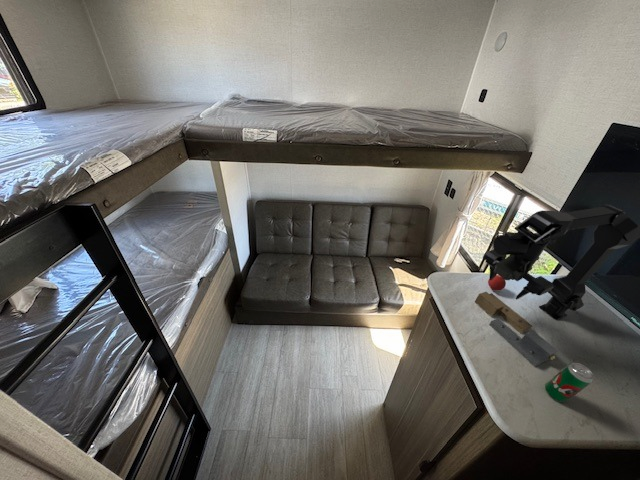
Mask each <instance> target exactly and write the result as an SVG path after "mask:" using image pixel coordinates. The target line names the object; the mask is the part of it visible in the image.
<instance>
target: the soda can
mask: <svg viewBox="0 0 640 480" xmlns="http://www.w3.org/2000/svg"><path fill="white" fill-rule="evenodd" d="M594 378H595V377H594V374H593V372H592V371H591V370H590V369H589V368H588V367H586V366H585V365H584V364H582V363H579V362H573V363H568V364H567V365H566V366H565V367H563V368H562V369H561V370H559V372H558V373H557V374H556V375H554V376H553V377H552V378H551V379H550V380H548V381H547V382H546V383H545V385H544V389H545V391H546V393H547V395H549V397H551V398H552V399H553V400H555V401H557V402H560V403H566V402H567V401H569V400H570V399H572V398H573V397H575V396H576V395H577V394H578V393H580V392H581V391H582V390H584V389H586V387H589V386H590V384H592V383H593V381H594Z"/></svg>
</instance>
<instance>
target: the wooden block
mask: <svg viewBox="0 0 640 480" xmlns="http://www.w3.org/2000/svg"><path fill="white" fill-rule="evenodd" d="M474 303H476V305H477V306H479V307H480V308H481V309H482V310H483V311H484V312H485V313H487V315H489V316H490V317H492V318H493V317H496V316H498V315H499V316H500V317H501V318H502V319H503V320H504V321H506V322H507V323H508V324H510V325H511V326H512V327H513V328H514V329H515V330H516V331H517V332H519V333H520V334H523V333H525V332H526V333H527V331H530V330H531V329H532V328H533V325H532V324H531V323H530V322H528V321H527V320H526V319H525V318H523V316H521V315H520V314H518V313H517V312H516V311H515V310H514V309H512V308H511V307H509V305H507V304H506V303H505V302H503V301H502V300H501V299H499V298H498V297H497V296H496V295H494V293H492V292H491V293H489V292H487V291H484V292H480V293H478V295H477V297H476V298H475V300H474Z"/></svg>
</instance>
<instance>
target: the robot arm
mask: <svg viewBox="0 0 640 480" xmlns="http://www.w3.org/2000/svg"><path fill="white" fill-rule="evenodd" d="M589 227H596V228H595V229H594V231H593V243H592V244H591V245H590V247H589V248H588V249H587V250H586V252H585V253H583V255H582V256H581V258H579V260H578V261H577V262H576V264H575V265H574V266H573V267H572V269H571V270H570V271H569V272H568V274H566V276H565V275H564V276H562V277H559V278H557V277H556V278H554V279H553V281H550V280H548V279H547V278H545V277H543V275H540V276H537V277H535V276H533V275H531V274H530V273H529V272H530V271H532V269H533V266H534V265H535V263H536V262H537V261H539V260H540V258H541V257H540V256H541V254H542V253H543V252H544V250H545V249H546V247H547V246H548V245H549V244H551V243H556V242H557V240H556V238H557V237H562V236H564V235H565V234H566V233H567V232H568V231H571V230H577V229H584V228H589ZM529 228H530V229H531V230H530V229H529ZM514 230H515V232H512V231H506V232H505V233H504V234H500V235H498V236H496V237H495V238H494V240H493V243H492V245H493V246H492V247H493V249H492V250H488V251H486V252H484V254H483V256H482V258H483V260H485V263H486V264H487V265H488V266H489V278H490V279H489V278H488V280H490V281H491V280H493V279H494V277H495V276H496V275H499V276H501V277H502V278H503V279H505V281H510V280H512V281H513V280H514V281H516V282H519V281H521V280H522V279H524V280H525V281H527V283H526V285H525V286H523V287H522V290H520V292H519V293H518V294H517V295H516V296H515V300H519V299H521V298H523V297H525V296H526V295H527V294H529V293H530V294H531V295H537V296H542V295H545V294H547V293H548V294H550V295H551V297H550V298H549V300H547V302H546V303H544V304H542V305H539V307H538V308H539V309H540V310H542V311H543V312H544V313H546V314H547V315H549V316H550V317H551V318H552V319H554V320H556V321H558V320H561V319H563V318H566V317H567V316H568V314H567V312H568V311H570V310H571V311H572V312H576V311H577V310H579V309H581V308H582V307H584V303H583V302H584V301H583V300H582V298H584V296H585V294H586V283H587V282H588V281H589V280H591V277H592V276H593V275H595V274H596V272H598V270H599V269H600V268H601V267H602V265H603V264H604V263H605V262H606V261H607V260H608V259H609V258H610V256H611V255H612V254H613V253H615V251H616V250H617V249H621V248H625V247H627V246H631V244H633V243H634V242H635V241H637V240H638V239H640V225H638V224H637V223H636V222H635V221H634V220H632V219H631V218H630V217H629V215H628V214H627V213H626V212H625V211H624V210H622V209H619V208H617V207H615V206H613V205H610V204H604V205H601V206H599V207H593V208H586V209H581V210H580V209H579V210H574V211H568V212H562V211H555V210H539V211H536V212H535V213H532V214H531V215H530V216H529V217H527V218H526V219H525V220H523V221H522V222H520V223H519V224H517V225H516V226H514ZM532 230H533V231H532ZM516 231H517V232H516Z"/></svg>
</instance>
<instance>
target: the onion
mask: <svg viewBox="0 0 640 480" xmlns="http://www.w3.org/2000/svg"><path fill="white" fill-rule="evenodd" d="M489 279H490V277H489V278H488V280H487V284H488V286H489V288H490V289H491V291H501V290H504V289H505V288H506V286H507V285H506V284H507V280H505V279H503V278H502V277H501V276H499V275H498V274H496V276H495V277H494V279H493V280H491V281H490V280H489Z"/></svg>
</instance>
